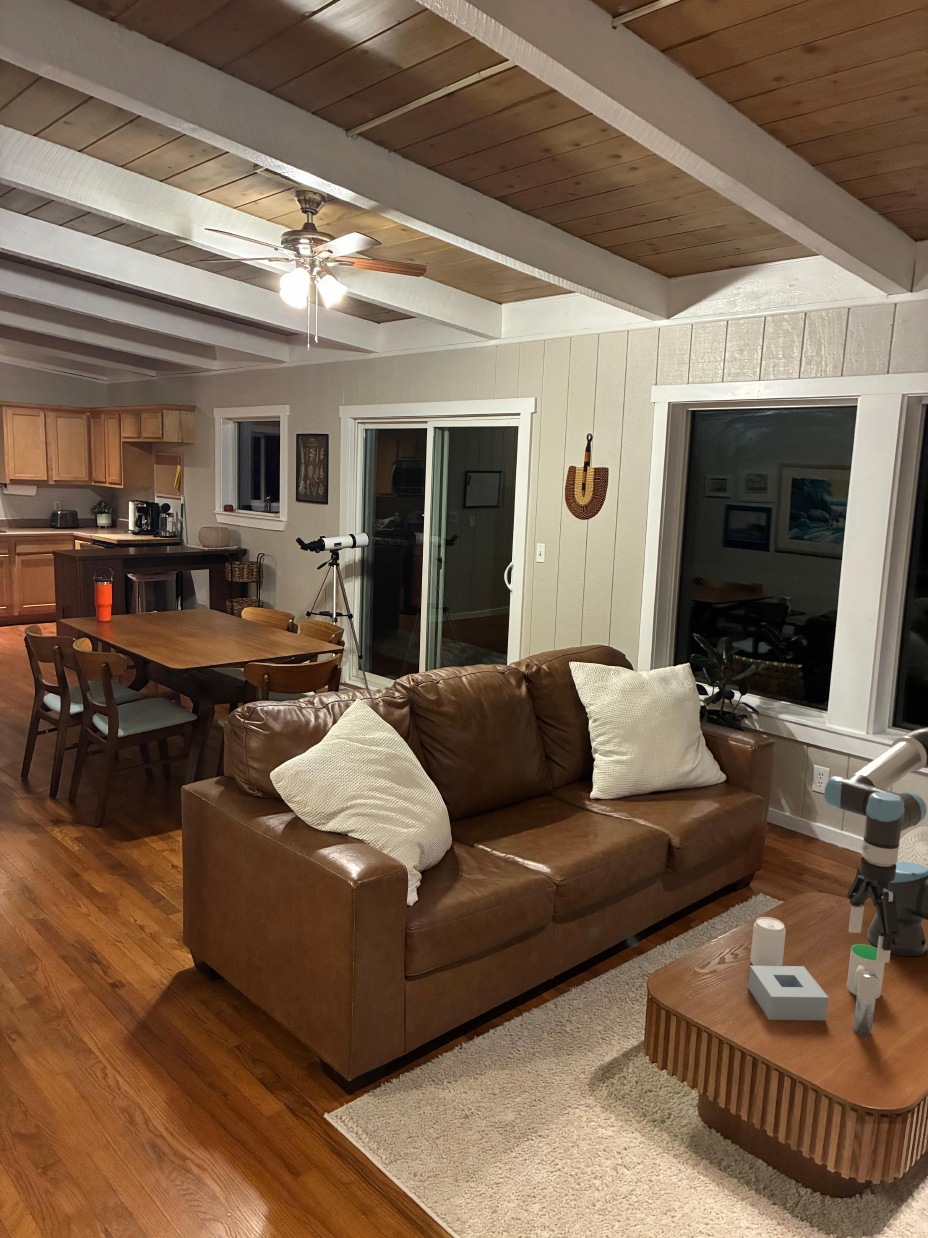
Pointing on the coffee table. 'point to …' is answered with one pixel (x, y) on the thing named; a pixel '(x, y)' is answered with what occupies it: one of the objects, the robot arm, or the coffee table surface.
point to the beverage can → (768, 942)
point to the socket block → (787, 993)
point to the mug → (864, 966)
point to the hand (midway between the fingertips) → (868, 946)
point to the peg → (865, 1003)
